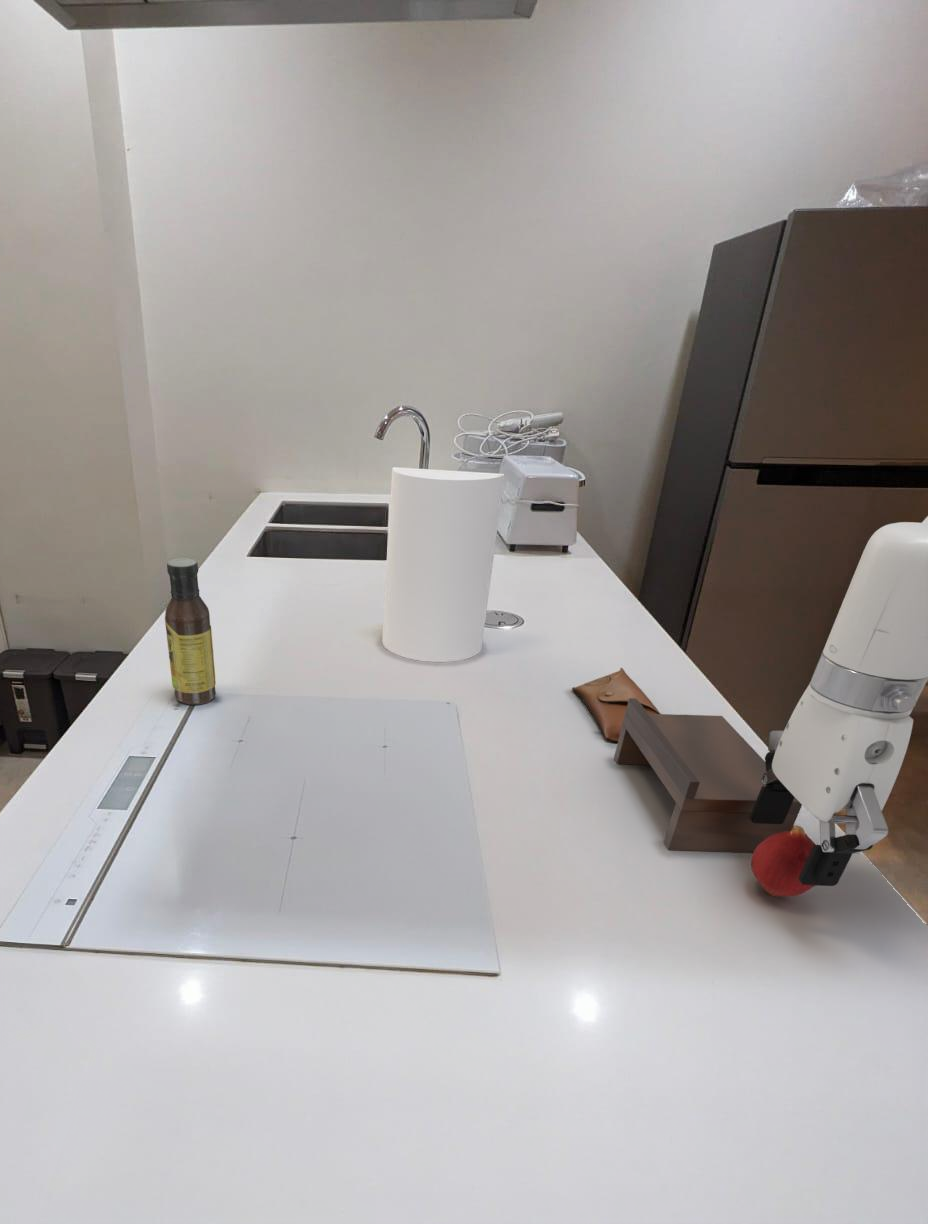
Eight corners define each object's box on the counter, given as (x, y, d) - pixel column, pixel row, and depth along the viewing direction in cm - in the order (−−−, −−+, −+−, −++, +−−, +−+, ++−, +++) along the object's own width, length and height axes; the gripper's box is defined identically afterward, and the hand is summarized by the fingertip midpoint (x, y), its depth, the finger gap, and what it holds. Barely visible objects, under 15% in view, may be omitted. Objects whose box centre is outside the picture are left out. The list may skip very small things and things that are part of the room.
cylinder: (475, 667, 122) (499, 483, 107) (372, 655, 126) (381, 475, 111) (486, 632, 136) (508, 465, 121) (393, 622, 140) (403, 459, 125)
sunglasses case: (567, 685, 115) (597, 650, 112) (601, 707, 117) (631, 673, 114) (606, 740, 99) (642, 701, 96) (644, 764, 102) (680, 727, 99)
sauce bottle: (182, 687, 113) (169, 553, 103) (221, 690, 112) (213, 555, 102) (167, 704, 108) (151, 565, 97) (208, 708, 107) (198, 568, 96)
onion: (807, 888, 75) (838, 822, 70) (805, 921, 70) (837, 853, 66) (743, 869, 77) (769, 804, 73) (737, 900, 73) (765, 833, 68)
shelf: (707, 761, 96) (727, 700, 92) (781, 853, 79) (810, 785, 75) (613, 758, 97) (628, 698, 92) (668, 850, 80) (690, 781, 75)
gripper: (985, 733, 54) (883, 913, 63) (851, 647, 69) (784, 803, 78) (881, 729, 54) (795, 909, 63) (770, 644, 69) (712, 800, 78)
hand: (789, 851), depth 71 cm, fingers open, 9 cm apart
